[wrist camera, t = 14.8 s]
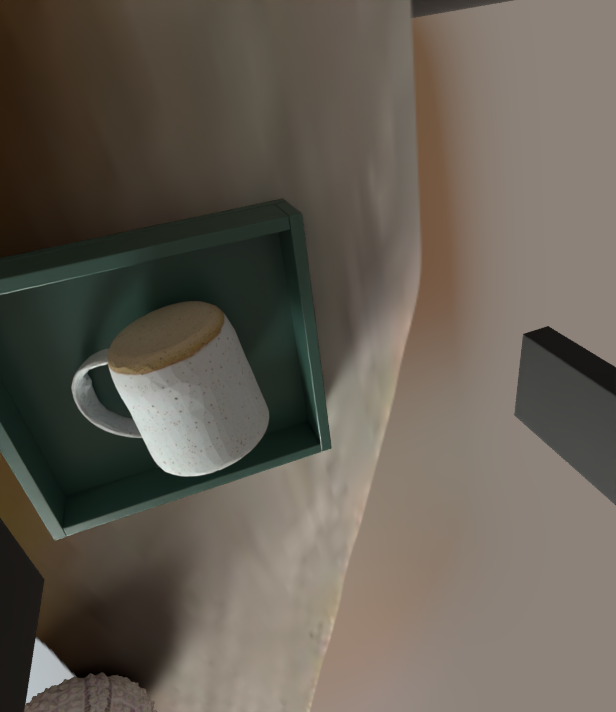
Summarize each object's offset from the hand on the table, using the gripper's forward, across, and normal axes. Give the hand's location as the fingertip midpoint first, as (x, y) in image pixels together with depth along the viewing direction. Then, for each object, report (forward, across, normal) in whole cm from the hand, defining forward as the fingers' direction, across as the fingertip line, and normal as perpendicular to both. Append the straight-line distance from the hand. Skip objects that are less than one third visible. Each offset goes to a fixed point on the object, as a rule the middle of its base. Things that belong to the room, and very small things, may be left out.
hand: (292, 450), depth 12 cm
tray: (+21, -4, -8) cm, 23 cm away
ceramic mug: (+20, -4, -8) cm, 22 cm away
